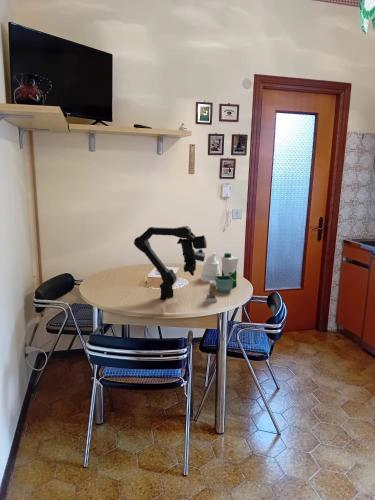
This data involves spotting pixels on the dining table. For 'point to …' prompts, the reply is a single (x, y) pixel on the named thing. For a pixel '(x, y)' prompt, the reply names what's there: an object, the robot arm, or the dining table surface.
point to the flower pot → (224, 283)
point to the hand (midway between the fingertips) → (192, 275)
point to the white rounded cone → (210, 269)
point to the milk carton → (230, 267)
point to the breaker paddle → (212, 289)
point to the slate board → (211, 299)
